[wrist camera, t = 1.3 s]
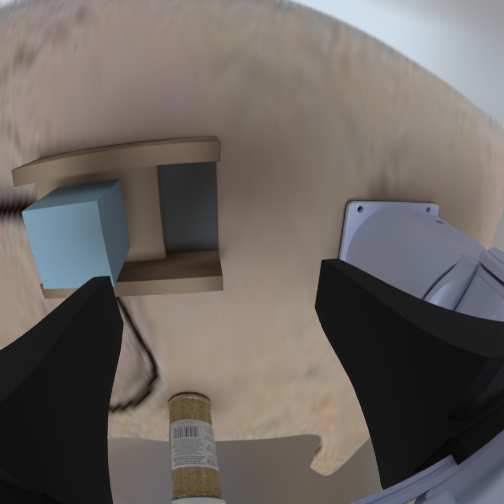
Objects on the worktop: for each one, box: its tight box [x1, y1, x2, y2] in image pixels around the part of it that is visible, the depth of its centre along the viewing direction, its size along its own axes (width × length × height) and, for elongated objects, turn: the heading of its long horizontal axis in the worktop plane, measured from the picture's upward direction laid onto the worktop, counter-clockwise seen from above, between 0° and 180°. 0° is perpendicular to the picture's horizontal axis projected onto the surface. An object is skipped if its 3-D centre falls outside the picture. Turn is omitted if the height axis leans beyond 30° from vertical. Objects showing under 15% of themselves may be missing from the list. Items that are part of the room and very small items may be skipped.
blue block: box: [22, 179, 130, 289], centre depth 14 cm, size 4×4×4 cm
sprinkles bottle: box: [168, 394, 225, 504], centre depth 21 cm, size 5×5×14 cm
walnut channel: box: [12, 136, 223, 298], centre depth 16 cm, size 12×8×4 cm
